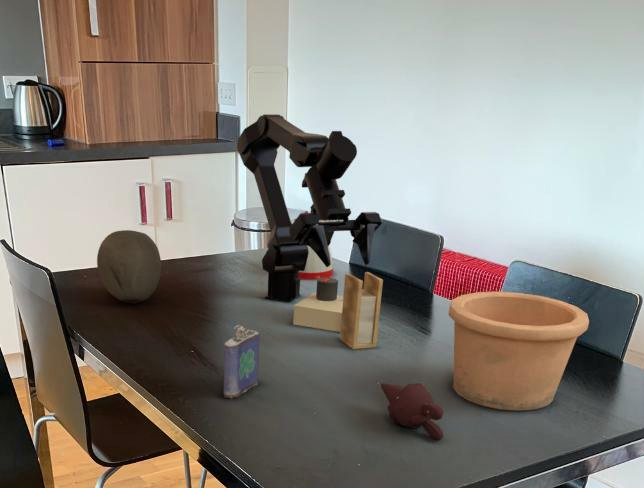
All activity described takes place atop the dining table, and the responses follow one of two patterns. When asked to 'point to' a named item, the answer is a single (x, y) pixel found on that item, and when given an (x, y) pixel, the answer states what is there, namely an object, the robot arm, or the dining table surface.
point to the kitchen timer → (316, 266)
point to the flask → (241, 362)
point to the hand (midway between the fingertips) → (348, 265)
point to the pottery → (512, 347)
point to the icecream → (413, 407)
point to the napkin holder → (361, 311)
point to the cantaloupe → (129, 265)
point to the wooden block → (319, 313)
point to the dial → (327, 289)
